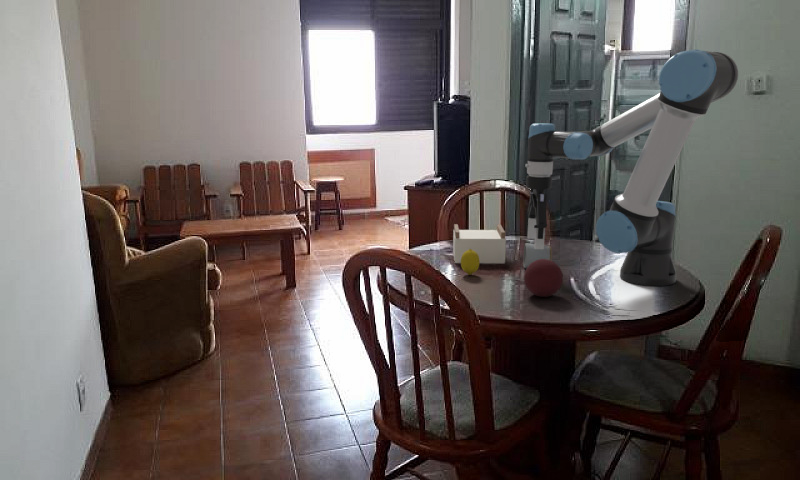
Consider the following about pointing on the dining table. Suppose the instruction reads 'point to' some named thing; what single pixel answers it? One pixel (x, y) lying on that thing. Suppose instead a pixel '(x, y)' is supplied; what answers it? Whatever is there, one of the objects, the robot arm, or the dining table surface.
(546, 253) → the ceramic mug
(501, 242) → the display stand
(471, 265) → the lemon
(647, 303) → the dining table surface
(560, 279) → the decorative ball
